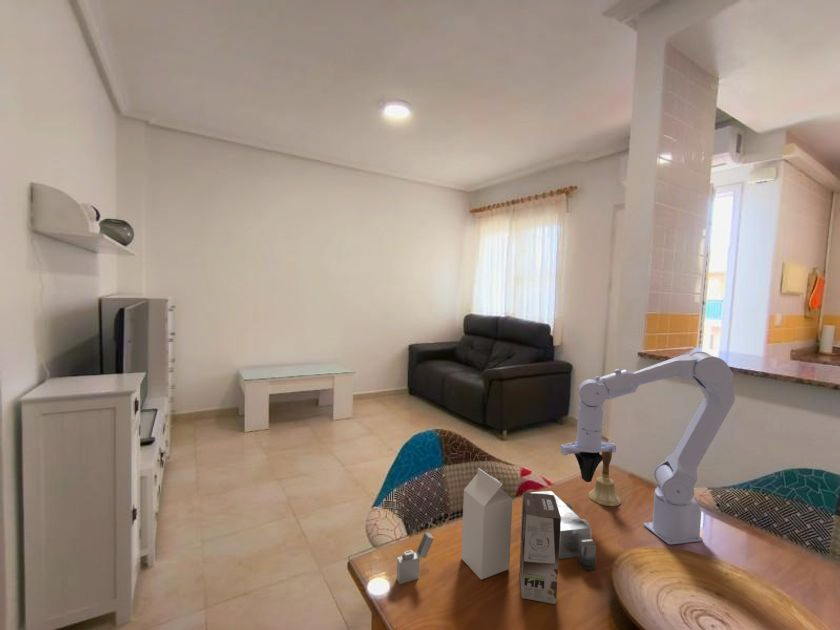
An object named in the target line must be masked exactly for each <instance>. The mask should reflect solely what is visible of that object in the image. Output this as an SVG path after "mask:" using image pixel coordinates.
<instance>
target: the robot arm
mask: <svg viewBox="0 0 840 630" xmlns="http://www.w3.org/2000/svg"><path fill="white" fill-rule="evenodd" d="M613 371H614V372H612V373H610V374H609V373H608V374H606V375H602V376H599V375H596V376H595V377H594V379H592V378H588V379H585V380H583V381H582V382H581V383H580V384H579V386H578V389H577V391H578V394H579V397H580V398H579V401H578V405H579V407H578V409H577V422H576V423H577V425H576V426H577V428H576V439H575V441H574V442H569V443H564V444H560V445H559V447H560V448H559V449H560V451H559V452H560V453H561V455H563V456H568V455H570V454H572V455H574V456H575V458H576V460H577V463H578V468H579V470H580V475H581V476H580V477H581V479H582V480H583V481H584V482H585V483H591V482H592V480H593V478H594V475H595V472H596V470H597V468H598V466H599V465H600V464H601V462H603V461H602V460H603V456H602V452H608V451H611V452H612V453H616V452H617V451H616V450H617V444H615V443H614V442H612V441H611V442H610V441H602V436H603V435H602V433H603V419H604V418H603V414H604V412H603V404H604V403H605V401H606V400H611V399H612V400H613V399H615V398H616V399H617V398H619V397H623V396H626V395H629V394H632V393H635V392H636V391H637V390H638V388H639V386H642V385H645V384H648V383H652V382H657V381H661V380H664V379H668V378H672V377H679V378H684V379H688V380H695V381H696V383H698V384H697V385H698V387H699V388H700V390H701V392H702V393H703V398H702V400H701V402H700V403H699V404H700V405H699V406H698V408H697V410H696V411H695V413H694V415H693V417H692V418H691V420H690V422H689V424H688V425H687V427H686V430H685V431H684V433H683V435H682V437H681V439H680V441H679V442H678V444H677V446H676V448H675V450H674V451H673V453H671V454H669V455H667V456H666V458H665V460H664V461H663V462H662V463H660V464H658V465H657V466H656V467H655V468H654V472H653V474H654V479H655V481H656V482H657V483H658V485H657V487H655V490H654V495H653V496H654V497H653V511H652V521H651V522H644V523H643V527H645V528H647V530H649V531H651V532H652V533H653V534H655V535H656V536H657V537H658V538H660V539H661V540H662V541H663V542H665V543H666V544H668V545H679V544H687V543H694V542H702V541H703V537H701V536H700V535H701V522H702V510H701V507H700V504H699V503H698V501H697V500H696V499H695V498H694V496H695V491H694V489H695V485H696V483H697V482H698V481H697V480H698V467H699V466H700V463H701V461H702V460H703V458H704V456H705V455H706V453H707V452H708V449H709V448H710V446H711V445H712V442H713V441H714V439H715V437H716V435H717V433H718V431H719V430H720V428H721V427H722V425H723V423H724V421H725V420H726V418H727V415H728V414H729V412H730V411H731V409H732V407H733V406H734V404H735V400H736V397H735V388H734V383H733V382H734V381H733V378H734V376H735V374H734V373H733V371H732V370H731V368H730V367H729V364H727V362H726V361H725V360H724V359H722V358H720V357H718V356H713V355H711V354H710V353H707V352H705V351H694V352H692V353H689V354H688V353H686V354H681V355H679V356H675V357H672V358H669V359H667V360H664V361H660V362H659V363H655V364H651V365H649V366H647V367H645V368H642V369H639V370H635V371H630V370H628V369H622V370H621V369H620V368H617V369H614V370H613ZM600 453H601V454H600Z"/></svg>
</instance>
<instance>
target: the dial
mask: <svg viewBox="0 0 840 630" xmlns="http://www.w3.org/2000/svg"><path fill="white" fill-rule="evenodd" d="M596 552H597V543H596V542H595V541H594V540H593V538H590V539H581V542H580V556H579V562H578V563H579V567H580V568H581V569H582V570H584V571H586V572H593V571H595V569H596V558H597V557H596V556H597V553H596Z"/></svg>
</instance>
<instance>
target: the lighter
mask: <svg viewBox="0 0 840 630" xmlns="http://www.w3.org/2000/svg"><path fill="white" fill-rule="evenodd" d="M433 542H434V536H433V535H432V534H431V533H429V532H426V531H425V532H424V534H423V535H422V538H421V539H420V543H419V545H418V547H417V550H416V552H414V551H413V549H410V550H406V551H404V552H403V553H402V555H401V556H397V557H396V581H397V582H398V584H399V585H402V584H406V583H409V582H412V581H416V580H419V578H420V558H422V559H426V558H427V556H428V553H429V551H430V549H431V546H432V543H433Z"/></svg>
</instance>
